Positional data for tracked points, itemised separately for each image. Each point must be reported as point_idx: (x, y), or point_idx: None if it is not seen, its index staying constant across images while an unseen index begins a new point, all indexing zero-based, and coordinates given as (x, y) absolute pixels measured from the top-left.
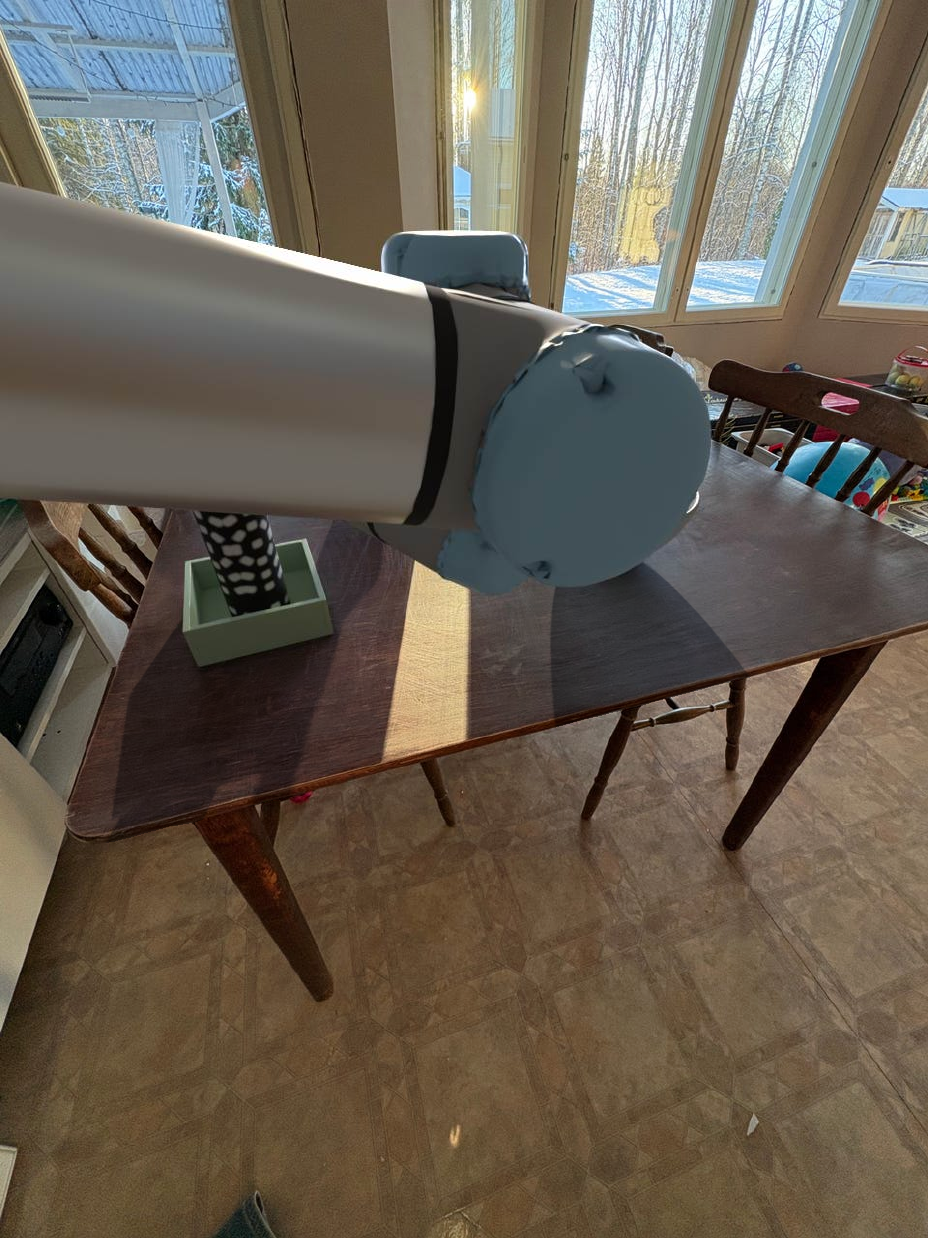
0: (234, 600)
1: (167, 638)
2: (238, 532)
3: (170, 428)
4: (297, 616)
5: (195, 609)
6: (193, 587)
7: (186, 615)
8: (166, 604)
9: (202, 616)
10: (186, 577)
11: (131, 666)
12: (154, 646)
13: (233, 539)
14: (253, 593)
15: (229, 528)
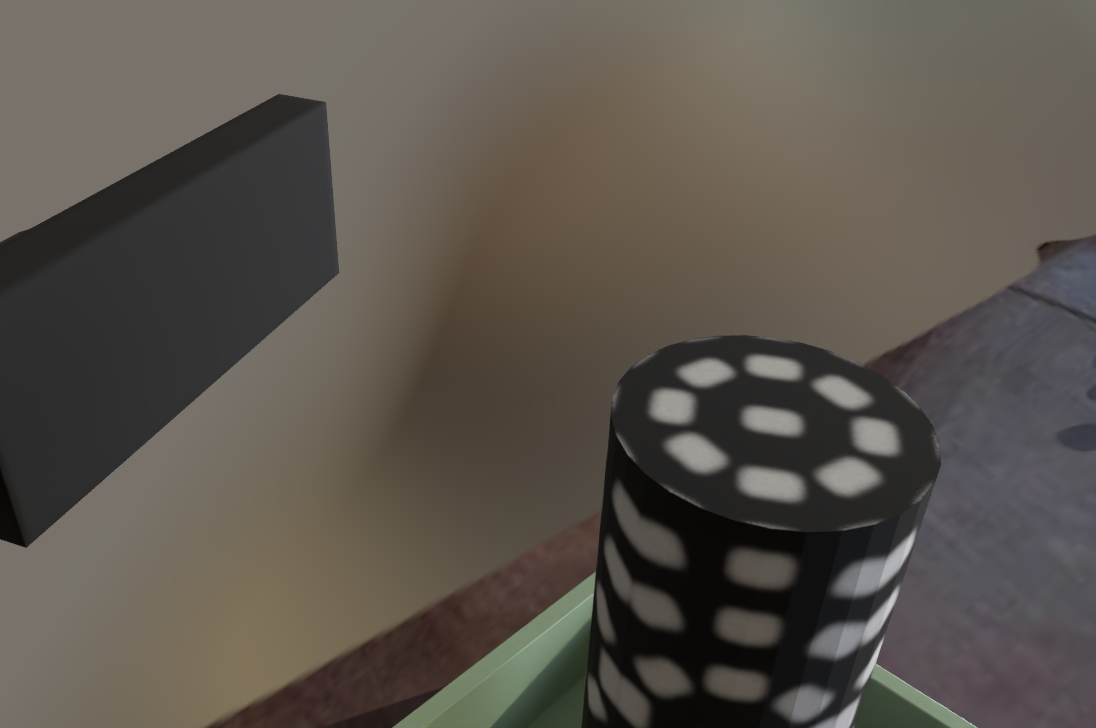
0: None
1: (433, 687)
2: (665, 665)
3: None
4: None
5: (507, 698)
6: (582, 623)
7: (415, 721)
8: (560, 580)
9: (544, 712)
10: (589, 582)
11: (294, 690)
12: (389, 682)
13: (637, 669)
14: None
15: (642, 628)
